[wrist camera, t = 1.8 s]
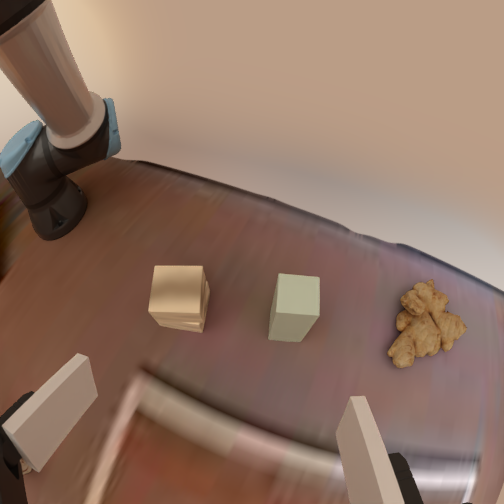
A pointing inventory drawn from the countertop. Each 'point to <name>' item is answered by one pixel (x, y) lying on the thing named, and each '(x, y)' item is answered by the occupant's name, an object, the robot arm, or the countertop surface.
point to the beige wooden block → (190, 326)
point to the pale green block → (294, 307)
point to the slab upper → (178, 294)
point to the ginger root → (424, 325)
